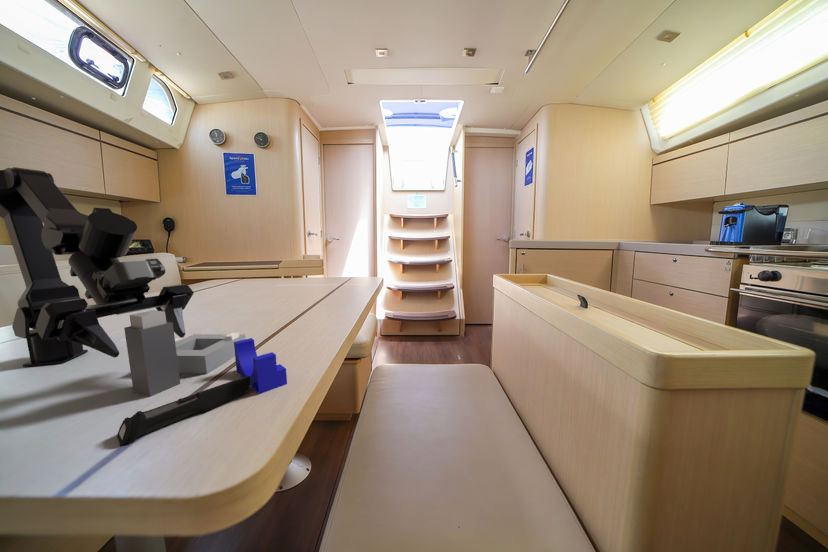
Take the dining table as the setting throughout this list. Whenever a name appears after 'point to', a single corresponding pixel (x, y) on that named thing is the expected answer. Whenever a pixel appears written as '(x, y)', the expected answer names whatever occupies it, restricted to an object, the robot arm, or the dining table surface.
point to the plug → (152, 353)
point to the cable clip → (258, 367)
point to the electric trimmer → (179, 409)
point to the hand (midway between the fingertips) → (153, 344)
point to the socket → (205, 352)
